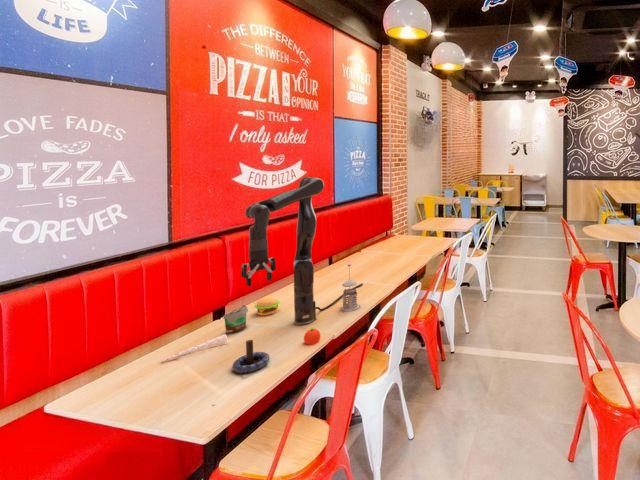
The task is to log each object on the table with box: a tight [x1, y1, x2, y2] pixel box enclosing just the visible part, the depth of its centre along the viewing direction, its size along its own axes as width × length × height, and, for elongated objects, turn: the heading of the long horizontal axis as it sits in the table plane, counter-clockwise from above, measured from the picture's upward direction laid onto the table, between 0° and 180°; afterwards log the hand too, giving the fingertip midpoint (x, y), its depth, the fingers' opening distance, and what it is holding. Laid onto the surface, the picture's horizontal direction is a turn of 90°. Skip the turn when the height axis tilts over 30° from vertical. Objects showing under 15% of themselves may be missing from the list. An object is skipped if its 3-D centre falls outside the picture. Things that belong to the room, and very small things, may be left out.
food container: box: [222, 304, 249, 335], centre depth 191 cm, size 12×6×10 cm, turn 168°
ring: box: [231, 351, 270, 374], centre depth 154 cm, size 13×13×3 cm
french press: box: [340, 263, 360, 312], centre depth 215 cm, size 10×12×25 cm
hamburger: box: [254, 295, 281, 316], centre depth 212 cm, size 12×12×9 cm
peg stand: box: [240, 339, 268, 376], centre depth 154 cm, size 9×9×12 cm
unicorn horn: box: [159, 333, 228, 363], centre depth 168 cm, size 5×24×5 cm, turn 127°
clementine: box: [303, 327, 321, 345], centre depth 175 cm, size 8×7×7 cm
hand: (259, 283), depth 175 cm, fingers open, 8 cm apart
